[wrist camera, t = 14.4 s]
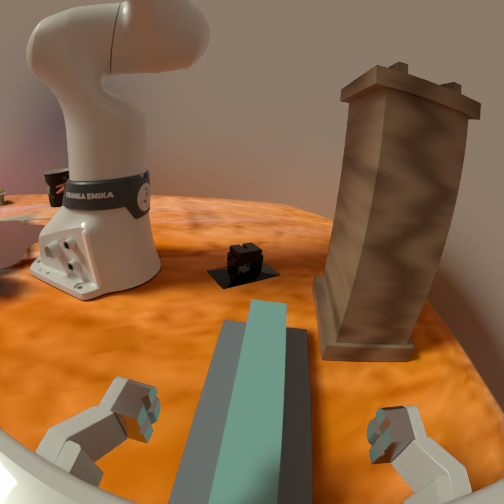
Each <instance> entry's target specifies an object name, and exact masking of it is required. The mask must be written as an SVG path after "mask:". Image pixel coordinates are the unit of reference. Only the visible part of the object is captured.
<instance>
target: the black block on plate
mask: <svg viewBox="0 0 504 504" xmlns="http://www.w3.org/2000/svg"><path fill="white" fill-rule="evenodd" d="M243 247H244V248H243ZM207 272H208V273H209V274H210V275H211V276H212V277H213V279H214V280H215V281H216V282H217V283H218V284H219V285H220V286H221V288H222V289H226V288H231V287H235V286H239V285H243V284H247V283H251V282H255V281H259V280H263V279H267V278H271V277H275V276H279V275H280V274H279V273H278V272H276V271H275V270H273V269H272V268H271V267H269V266H268V265H267V264H265V263H264V262H263V255H262V250H261V249H260V248H259V247H257V246H256V245H254V244H253V243H245V244H243V245H242V246H240V245H233V246H230V252H228V257H227V267H222V268H217V269H212V270H207Z"/></svg>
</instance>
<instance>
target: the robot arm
mask: <svg viewBox="0 0 504 504" xmlns="http://www.w3.org/2000/svg"><path fill="white" fill-rule="evenodd" d="M209 36H210V30H209V25H208V22H207V20H206V18H205V16H204V14H203V13H202V12H201V11H200V10H199V9H198V8H197V7H195V6H194V5H193V4H192V3H191V1H190V0H127V1H126V2H122V3H110V4H98V5H89V6H81V7H74V8H71V9H68V10H65V11H62V12H59V13H57V14H54V15H52V16H49V17H47V18H44V19H43V20H42V21H41V22H40V23H39V24H38V25H37V27H36V28H35V30H34V31H33V33H32V35H31V37H30V39H29V42H28V45H27V52H26V57H27V63H28V66H29V69H30V70H31V72H32V73H33V75H34V76H35V77H36V78H38V79H39V80H41V81H42V82H43V83H45V84H46V85H47V86H48V87H49V88H50V89H51V90H52V91H53V93H54V94H55V96H56V97H57V99H58V101H59V103H60V106H61V108H62V111H63V114H64V118H65V124H66V132H67V145H68V159H69V160H68V161H69V179H68V180H67V182H66V183H64V184H61V185H58V186H56V188H59V187H62V189H61V190H59V191H58V192H57V194H59V193H62V192H64V196H63V201H62V207H61V208H60V209H59V210H58V211H57V213H56V214H55V215H54V216H53V217H52V219H51V220H50V221H49V222H48V223H47V225H46V226H45V227H44V228H43V230H42V231H41V233H40V236H39V250H40V256H39V257H38V258H37V259H36V260H35V261H34V262H33V264H32V265H31V268H30V271H31V274H32V275H33V276H35V277H37V278H39V279H41V280H42V281H44V282H46V283H48V284H50V285H52V286H54V287H56V288H58V289H60V290H62V291H64V292H66V293H68V294H70V295H72V296H74V297H77V298H79V299H81V300H88V299H92V298H94V297H97V296H99V295H102V294H104V293H109V292H114V291H120V290H125V289H129V288H132V287H135V286H138V285H140V284H142V283H144V282H146V281H148V280H149V279H151V278H152V277H153V276H155V275H156V274H157V273H158V271H159V270H160V267H161V260H160V258H159V255H158V253H157V250H156V247H155V243H154V240H153V235H152V231H151V225H150V219H149V210H150V180H149V171H148V170H146V150H147V119H146V116H145V114H144V112H143V111H142V110H141V109H140V108H139V107H138V106H137V105H135V104H134V103H132V102H130V101H128V100H126V99H123V98H121V97H119V96H116V95H114V94H112V93H110V92H109V91H108V90H107V89H106V88H105V86H104V79H105V78H106V77H107V76H110V75H111V74H112V75H117V74H138V73H162V72H168V71H175V70H180V69H188V68H190V67H191V66H193V65H194V64H195V63H196V62H197V61H198V60H199V59H200V58H201V56H202V55H203V54H204V52H205V50H206V48H207V45H208V42H209ZM156 394H157V390H156V387H155V386H151V385H147V384H144V383H140V382H137V381H133V380H130V379H127V378H123V377H120V376H117V377H116V378H115V379H114V380H113V382H112V384H111V385H110V387H109V389H108V391H107V392H106V394H105V396H104V397H103V399H102V401H101V403H100V404H99V406H93V407H91V408H89V409H87V410H85V411H83V412H81V413H79V414H77V415H75V416H73V417H71V418H69V419H67V420H65V421H63V422H61V423H59V424H57V425H55V426H53V427H51V428H49V430H48V431H47V433H46V435H45V436H44V438H43V440H42V441H41V443H40V445H39V446H38V448H37V450H36V451H35V453H34V452H33V451H31V450H30V449H28V448H27V447H25V446H24V445H22V444H21V443H20V442H18V441H17V440H15V439H14V438H13V437H11V436H10V435H9V434H7V433H6V432H5V431H3V430H2V429H1V428H0V504H139V503H136V502H133V501H131V500H128V499H125V498H122V497H120V496H117V495H115V494H112V493H110V492H108V491H105V490H103V489H101V488H98V486H99V483H100V481H101V478H102V476H103V472H102V470H101V469H100V468H99V467H98V466H97V465H96V464H95V463H94V462H95V461H97V460H98V459H100V458H101V457H103V456H104V455H105V454H107V453H108V452H110V451H111V450H113V449H114V448H115V447H117V446H118V445H119V444H121V443H122V442H124V441H125V440H126V439H127V438H130V439H134V440H137V441H141V442H144V443H148V442H149V439H150V437H151V434H152V432H153V429H152V426H151V424H153V423H154V422H156V421H157V419H158V416H159V412H160V401H159V399H158V398H157V397H156ZM367 439H368V442H369V443H370V444H371V445H372V447H371V449H370V450H369V452H370V458H371V464H382V463H391V465H392V466H393V467H394V468H395V470H396V471H397V472H398V473H399V474H400V476H401V477H402V478H403V479H404V480H405V482H406V483H407V484H408V485H409V487H410V488H411V489H412V490H413V491H414V494H412V495H411V496H409V497H408V498H406V499H405V501H404V504H504V477H503V478H502V479H500V480H498V481H496V482H494V483H492V484H490V485H488V486H486V487H484V488H482V489H479V490H477V491H475V492H473V493H472V489H471V486H470V482H469V478H468V475H467V471H466V468H465V467H464V466H463V465H462V464H461V463H460V462H459V461H457V460H456V459H455V458H454V457H453V456H452V455H450V454H449V453H448V452H447V451H446V450H445V449H443V448H442V447H441V446H440V445H439V444H438V443H437V442H435V441H434V440H433V439H432V438H431V437H428V438H427V435H426V431H425V428H424V425H423V422H422V419H421V416H420V413H419V410H418V408H417V406H416V405H410V406H397V407H386V408H380V409H378V411H377V412H376V417H375V418H374V419H372V420H371V421H370V423H369V425H368V429H367Z"/></svg>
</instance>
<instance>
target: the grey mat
mask: <svg viewBox="0 0 504 504" xmlns="http://www.w3.org/2000/svg"><path fill="white" fill-rule="evenodd" d="M246 324H247V323H244V322H236V321H229V320H224V322H223V325H222V328H221V332H220V335H219V338H218V341H217V344H216V348H215V351H214V354H213V357H212V361H211V364H210V367H209V370H208V374H207V377H206V380H205V383H204V387H203V390H202V393H201V396H200V400H199V403H198V406H197V409H196V413H195V416H194V419H193V423H192V426H191V429H190V432H189V436H188V439H187V442H186V446H185V449H184V452H183V456H182V459H181V462H180V466H179V469H178V472H177V476H176V479H175V482H174V486H173V489H172V492H171V496H170V499H169V502H168V504H208V502H209V498H210V493H211V489H212V484H213V480H214V475H215V471H216V466H217V462H218V457H219V452H220V448H221V443H222V439H223V434H224V429H225V425H226V420H227V415H228V411H229V406H230V401H231V396H232V392H233V387H234V382H235V377H236V373H237V368H238V363H239V358H240V353H241V349H242V344H243V339H244V334H245V329H246ZM277 504H312V424H311V397H310V376H309V358H308V343H307V329H297V328H287V327H286V351H285V381H284V405H283V425H282V442H281V457H280V472H279V485H278V497H277Z"/></svg>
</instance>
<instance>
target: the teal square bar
mask: <svg viewBox="0 0 504 504" xmlns="http://www.w3.org/2000/svg"><path fill="white" fill-rule="evenodd" d="M285 351H286V303H279V302H270V301H261V300H253V299H252V300H251V305H250V310H249V315H248V319H247V324H246V329H245V334H244V339H243V344H242V349H241V353H240V358H239V363H238V368H237V373H236V377H235V382H234V387H233V392H232V396H231V401H230V406H229V411H228V415H227V420H226V425H225V429H224V434H223V439H222V443H221V448H220V452H219V457H218V462H217V466H216V471H215V475H214V480H213V484H212V489H211V493H210V498H209V502H208V504H277V497H278V485H279V472H280V457H281V442H282V425H283V405H284V381H285Z"/></svg>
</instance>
